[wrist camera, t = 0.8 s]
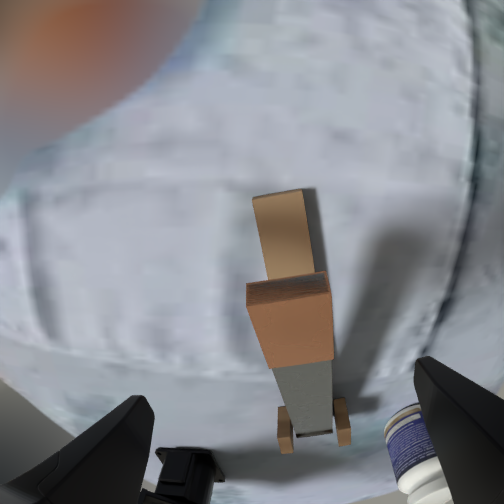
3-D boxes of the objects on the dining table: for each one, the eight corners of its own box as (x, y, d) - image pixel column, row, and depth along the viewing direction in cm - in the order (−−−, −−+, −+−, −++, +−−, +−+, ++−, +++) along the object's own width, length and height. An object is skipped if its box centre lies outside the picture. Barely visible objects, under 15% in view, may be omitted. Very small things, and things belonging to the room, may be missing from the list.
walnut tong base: (345, 414, 26) (350, 444, 22) (281, 423, 26) (281, 454, 23) (323, 185, 19) (332, 194, 16) (231, 201, 20) (221, 213, 17)
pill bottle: (376, 441, 27) (393, 520, 18) (391, 404, 25) (419, 491, 16) (424, 435, 27) (449, 507, 17) (443, 398, 25) (479, 475, 15)
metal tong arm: (332, 420, 25) (333, 434, 24) (295, 425, 25) (296, 439, 24) (325, 268, 13) (331, 295, 12) (246, 281, 13) (246, 308, 12)
